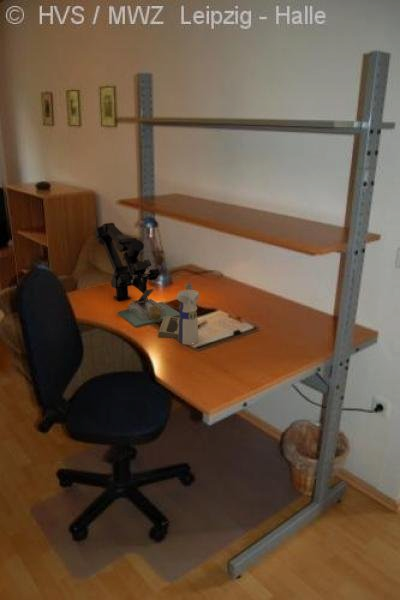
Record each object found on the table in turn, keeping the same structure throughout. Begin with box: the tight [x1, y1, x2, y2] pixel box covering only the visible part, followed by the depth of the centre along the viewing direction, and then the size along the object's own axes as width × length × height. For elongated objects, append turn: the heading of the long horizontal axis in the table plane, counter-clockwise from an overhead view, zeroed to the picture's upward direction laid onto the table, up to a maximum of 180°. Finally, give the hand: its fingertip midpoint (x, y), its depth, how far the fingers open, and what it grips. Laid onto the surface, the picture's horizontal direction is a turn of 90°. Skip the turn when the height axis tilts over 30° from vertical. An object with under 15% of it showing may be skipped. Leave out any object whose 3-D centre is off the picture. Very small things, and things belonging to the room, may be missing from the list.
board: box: [117, 301, 180, 329], centre depth 204 cm, size 18×22×1 cm
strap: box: [137, 288, 154, 302], centre depth 202 cm, size 12×3×1 cm
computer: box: [157, 316, 179, 339], centre depth 190 cm, size 16×8×3 cm, turn 176°
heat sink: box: [128, 297, 166, 321], centre depth 202 cm, size 15×11×6 cm
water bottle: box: [176, 281, 200, 346], centre depth 176 cm, size 8×9×25 cm
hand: (145, 294), depth 201 cm, fingers closed, pressing on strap
